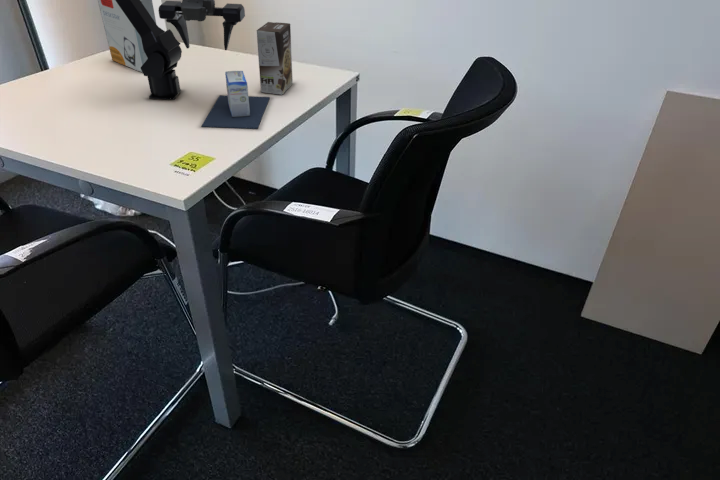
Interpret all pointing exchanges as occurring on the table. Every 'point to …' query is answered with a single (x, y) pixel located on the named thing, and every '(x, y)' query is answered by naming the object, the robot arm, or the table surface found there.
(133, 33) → the hard drive box
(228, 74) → the medicine box
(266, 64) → the coffee box
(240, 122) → the mat
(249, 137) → the table surface
